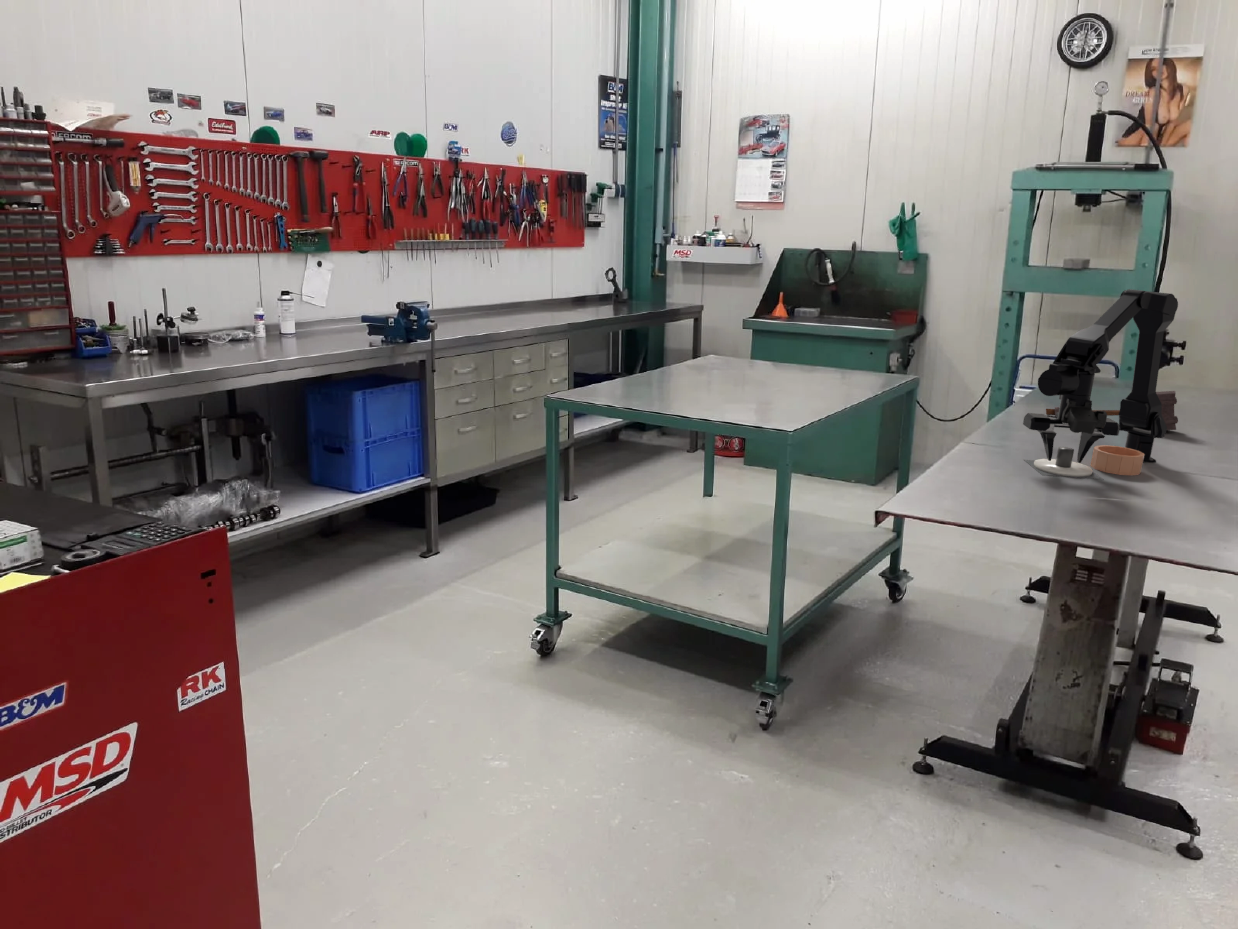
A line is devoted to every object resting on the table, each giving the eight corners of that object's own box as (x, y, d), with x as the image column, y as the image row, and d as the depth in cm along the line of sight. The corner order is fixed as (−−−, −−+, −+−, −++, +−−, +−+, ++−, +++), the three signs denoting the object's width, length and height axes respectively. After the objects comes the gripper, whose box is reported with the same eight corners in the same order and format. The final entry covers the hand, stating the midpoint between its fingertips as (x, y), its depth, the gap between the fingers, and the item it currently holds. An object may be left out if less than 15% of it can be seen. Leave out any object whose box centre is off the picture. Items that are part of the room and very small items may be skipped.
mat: (1023, 460, 211) (1023, 459, 211) (1081, 464, 210) (1081, 463, 210) (1041, 476, 199) (1042, 474, 199) (1103, 480, 198) (1104, 479, 198)
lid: (1026, 460, 211) (1029, 440, 209) (1080, 464, 210) (1083, 444, 208) (1043, 474, 199) (1047, 453, 198) (1100, 478, 198) (1104, 457, 197)
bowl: (1084, 462, 212) (1087, 444, 211) (1128, 465, 211) (1132, 447, 210) (1101, 474, 203) (1104, 454, 201) (1147, 477, 202) (1151, 458, 201)
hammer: (1178, 430, 246) (1177, 393, 244) (1045, 435, 263) (1044, 400, 261) (1177, 425, 252) (1176, 390, 250) (1048, 430, 268) (1046, 397, 267)
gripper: (1044, 397, 193) (1032, 467, 197) (1136, 403, 191) (1122, 474, 195) (1028, 387, 204) (1016, 455, 208) (1115, 393, 202) (1101, 460, 206)
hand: (1063, 461), depth 204 cm, fingers open, 6 cm apart
